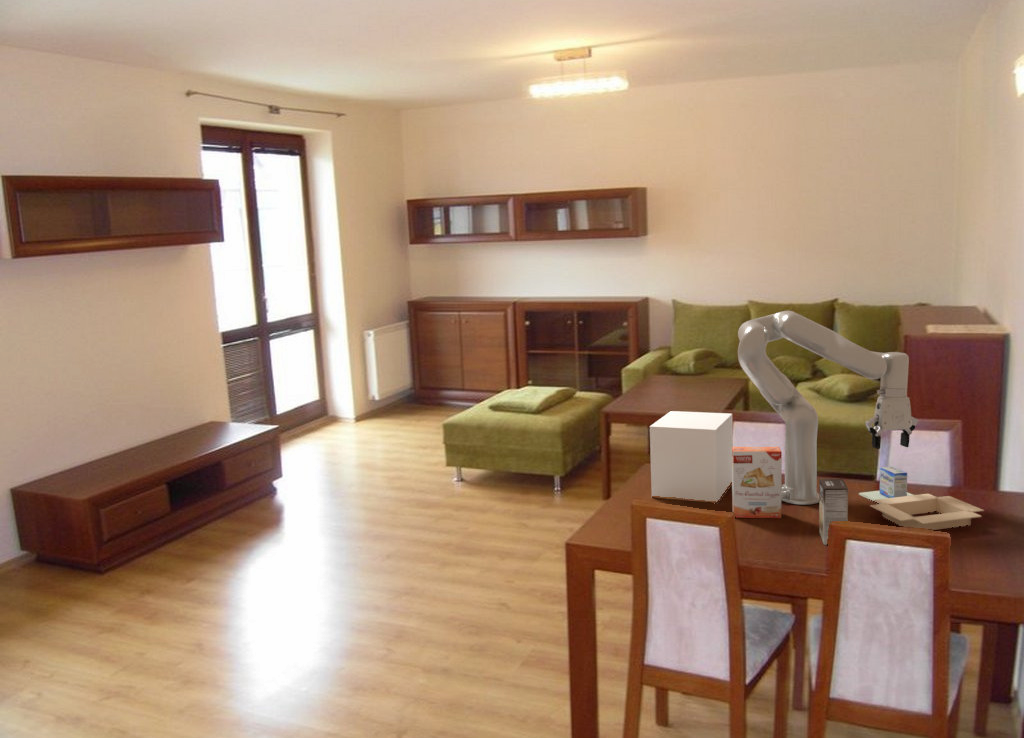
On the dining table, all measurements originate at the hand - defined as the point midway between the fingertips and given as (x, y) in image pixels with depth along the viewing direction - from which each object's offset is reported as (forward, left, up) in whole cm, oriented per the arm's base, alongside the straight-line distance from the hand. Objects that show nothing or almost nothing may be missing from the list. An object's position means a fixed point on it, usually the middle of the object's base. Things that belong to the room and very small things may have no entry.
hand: (890, 447), depth 260 cm
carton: (-3, -21, -17) cm, 27 cm away
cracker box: (-45, -1, -17) cm, 48 cm away
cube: (-52, +30, -17) cm, 63 cm away
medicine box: (+1, 0, -16) cm, 16 cm away
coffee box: (-35, -26, -17) cm, 47 cm away
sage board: (+1, 0, -17) cm, 17 cm away
